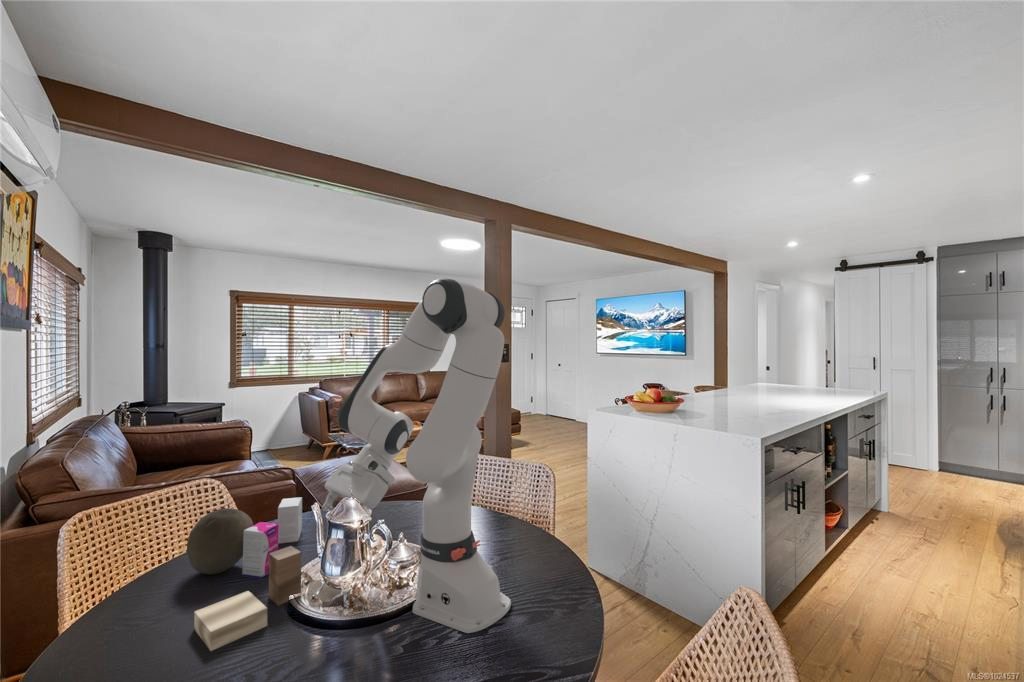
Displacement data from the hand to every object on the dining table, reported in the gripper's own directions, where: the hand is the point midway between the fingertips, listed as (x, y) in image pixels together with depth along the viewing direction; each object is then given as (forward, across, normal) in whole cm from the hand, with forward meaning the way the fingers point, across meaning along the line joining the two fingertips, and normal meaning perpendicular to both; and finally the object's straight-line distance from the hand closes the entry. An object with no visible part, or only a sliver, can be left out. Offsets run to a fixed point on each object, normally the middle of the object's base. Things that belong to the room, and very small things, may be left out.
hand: (334, 514), depth 112 cm
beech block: (+28, +3, -6) cm, 29 cm away
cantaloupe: (+23, -25, -1) cm, 34 cm away
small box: (+9, -31, +13) cm, 35 cm away
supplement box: (+19, -16, +3) cm, 25 cm away
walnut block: (+19, 0, +2) cm, 19 cm away
